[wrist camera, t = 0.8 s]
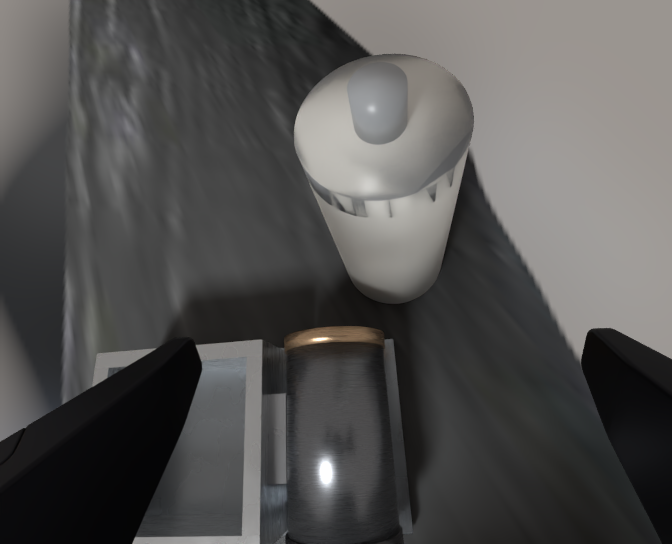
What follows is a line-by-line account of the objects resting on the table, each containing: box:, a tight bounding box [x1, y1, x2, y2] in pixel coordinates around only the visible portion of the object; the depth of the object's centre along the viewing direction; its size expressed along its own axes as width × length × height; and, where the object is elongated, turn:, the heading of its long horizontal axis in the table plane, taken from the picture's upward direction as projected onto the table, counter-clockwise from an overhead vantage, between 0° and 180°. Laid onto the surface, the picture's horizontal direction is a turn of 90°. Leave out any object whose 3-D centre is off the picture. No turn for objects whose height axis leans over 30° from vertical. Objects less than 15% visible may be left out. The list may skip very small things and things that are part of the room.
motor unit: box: [92, 326, 413, 544], centre depth 20 cm, size 10×16×6 cm, turn 93°
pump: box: [294, 54, 474, 304], centre depth 18 cm, size 6×6×14 cm
